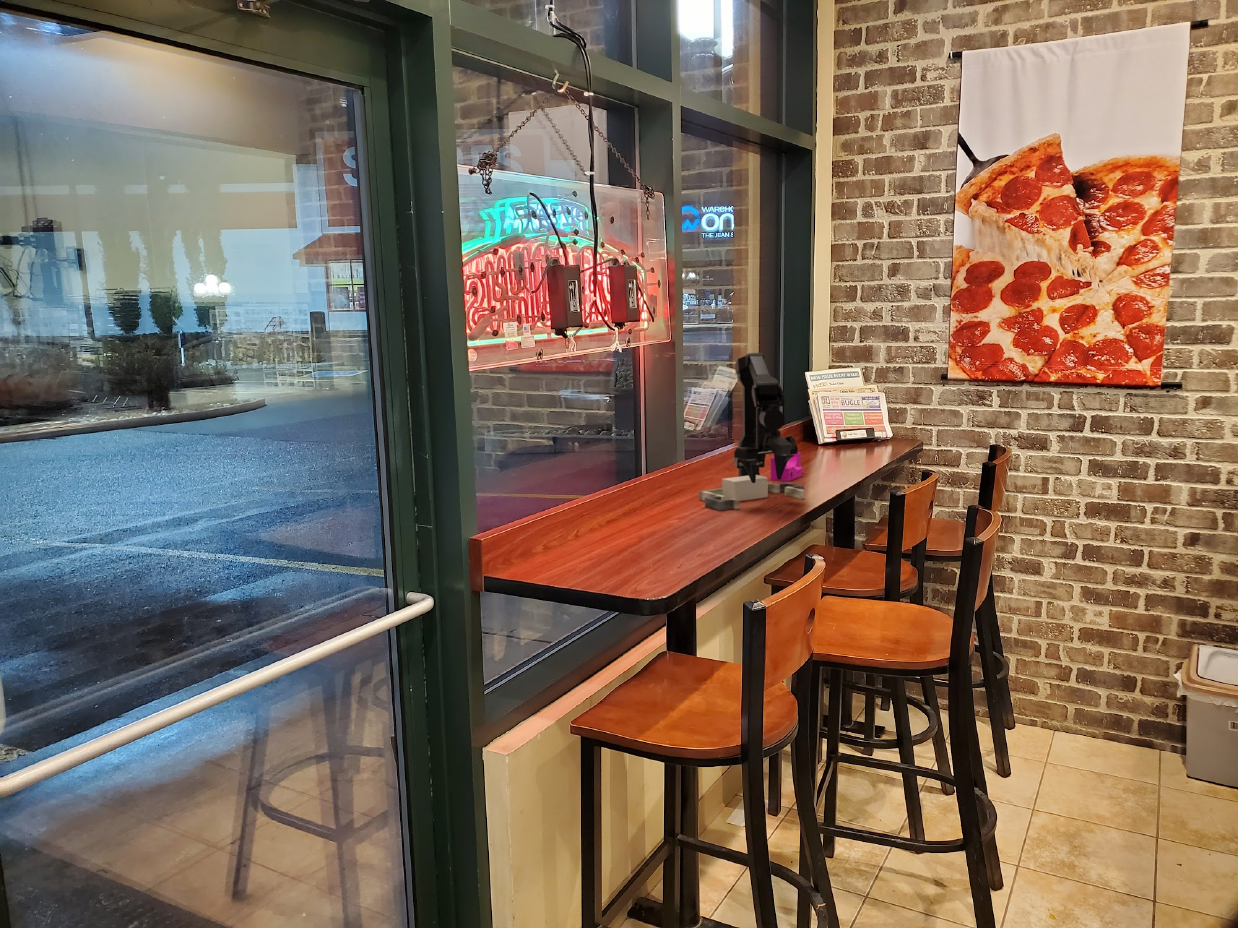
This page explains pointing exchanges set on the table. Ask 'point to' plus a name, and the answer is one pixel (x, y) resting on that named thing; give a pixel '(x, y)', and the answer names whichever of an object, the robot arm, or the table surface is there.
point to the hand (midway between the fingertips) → (766, 481)
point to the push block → (745, 488)
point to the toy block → (788, 469)
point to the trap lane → (718, 501)
